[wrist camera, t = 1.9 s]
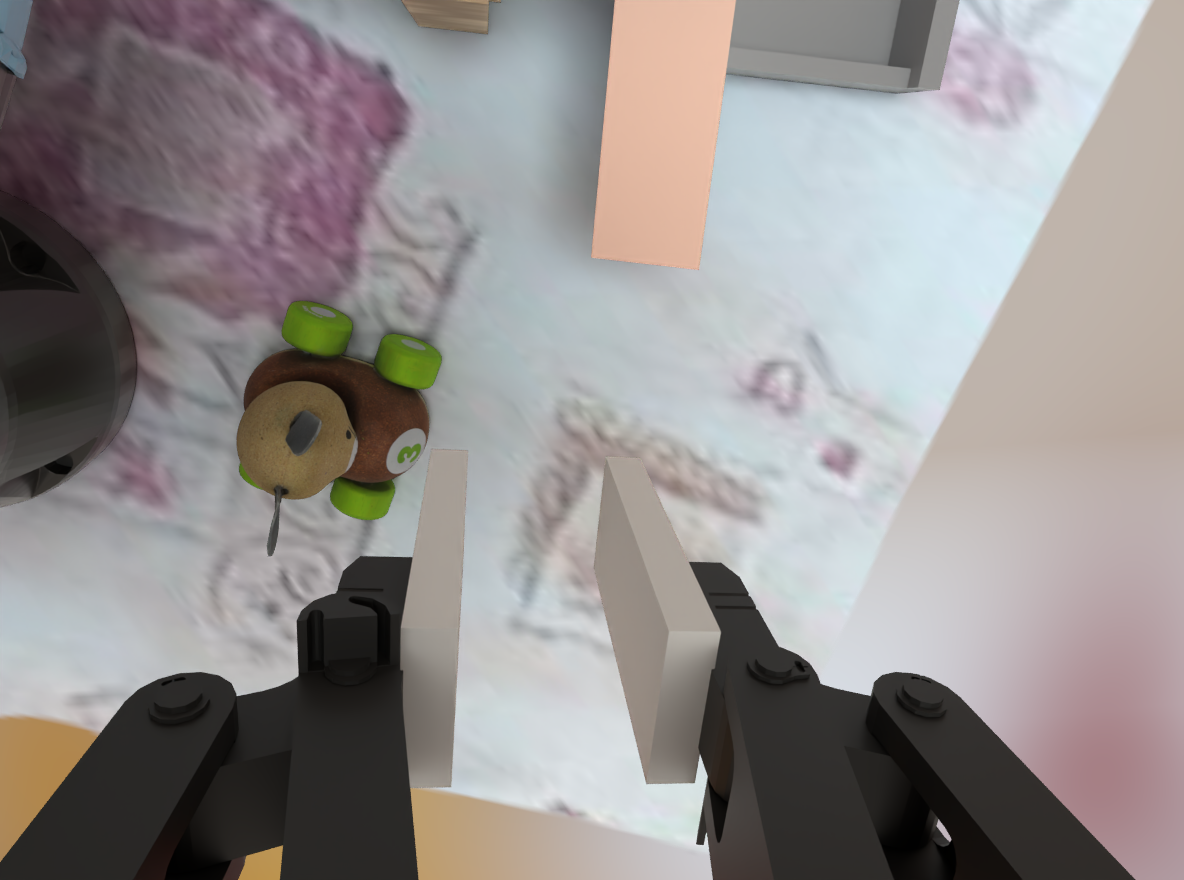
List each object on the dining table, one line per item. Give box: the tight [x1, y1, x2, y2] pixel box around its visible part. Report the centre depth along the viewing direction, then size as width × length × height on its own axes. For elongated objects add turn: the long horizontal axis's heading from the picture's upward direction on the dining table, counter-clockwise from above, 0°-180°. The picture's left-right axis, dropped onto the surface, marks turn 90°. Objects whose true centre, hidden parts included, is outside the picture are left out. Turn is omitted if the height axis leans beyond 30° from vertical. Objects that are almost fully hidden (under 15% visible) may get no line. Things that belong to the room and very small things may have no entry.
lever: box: [591, 0, 736, 270], centre depth 28 cm, size 20×16×5 cm
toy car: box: [237, 301, 442, 556], centre depth 36 cm, size 9×9×11 cm
